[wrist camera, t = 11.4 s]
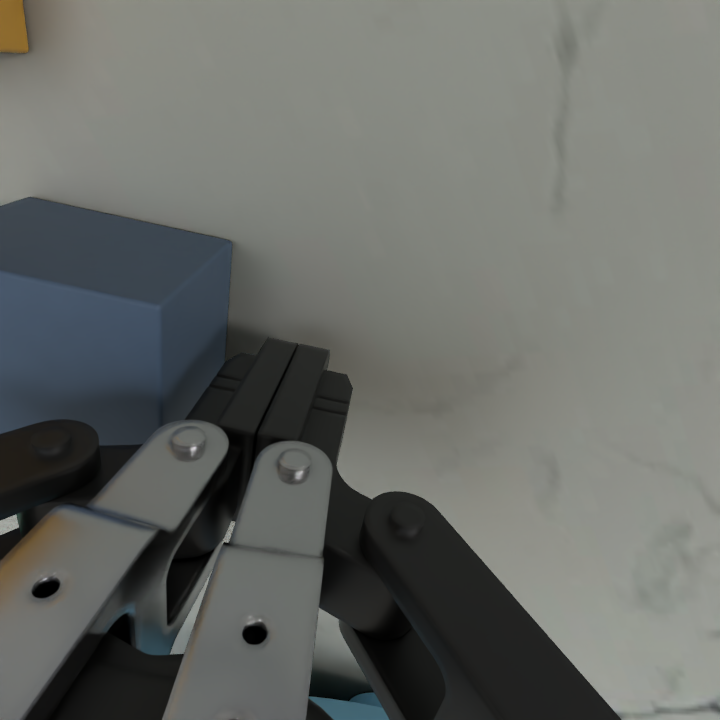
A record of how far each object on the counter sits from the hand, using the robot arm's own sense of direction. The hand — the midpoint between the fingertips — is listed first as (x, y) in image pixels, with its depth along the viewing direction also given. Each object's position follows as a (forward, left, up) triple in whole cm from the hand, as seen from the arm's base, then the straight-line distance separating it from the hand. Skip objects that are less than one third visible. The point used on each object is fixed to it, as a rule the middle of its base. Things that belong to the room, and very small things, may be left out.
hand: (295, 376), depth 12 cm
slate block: (0, -5, -1) cm, 5 cm away
